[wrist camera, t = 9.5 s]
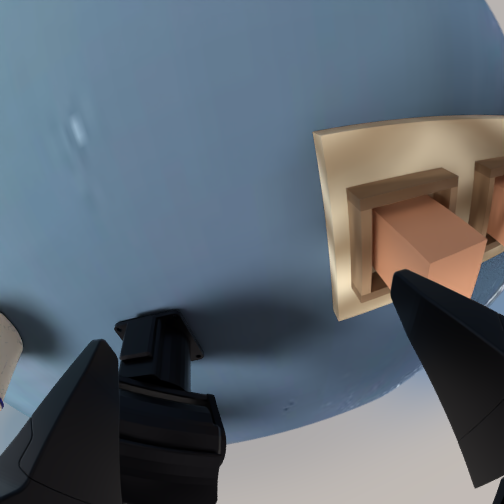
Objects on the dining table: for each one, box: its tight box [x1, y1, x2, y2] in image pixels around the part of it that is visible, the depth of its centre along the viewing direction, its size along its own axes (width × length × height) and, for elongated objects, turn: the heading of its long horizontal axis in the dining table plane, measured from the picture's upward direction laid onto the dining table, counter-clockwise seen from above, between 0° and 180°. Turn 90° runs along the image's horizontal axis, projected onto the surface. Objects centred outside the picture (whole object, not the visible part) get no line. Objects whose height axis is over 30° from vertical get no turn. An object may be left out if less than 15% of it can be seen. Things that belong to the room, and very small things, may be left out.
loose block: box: [372, 194, 487, 298], centre depth 17 cm, size 5×5×7 cm
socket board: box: [313, 115, 504, 321], centre depth 17 cm, size 16×24×8 cm, turn 103°
